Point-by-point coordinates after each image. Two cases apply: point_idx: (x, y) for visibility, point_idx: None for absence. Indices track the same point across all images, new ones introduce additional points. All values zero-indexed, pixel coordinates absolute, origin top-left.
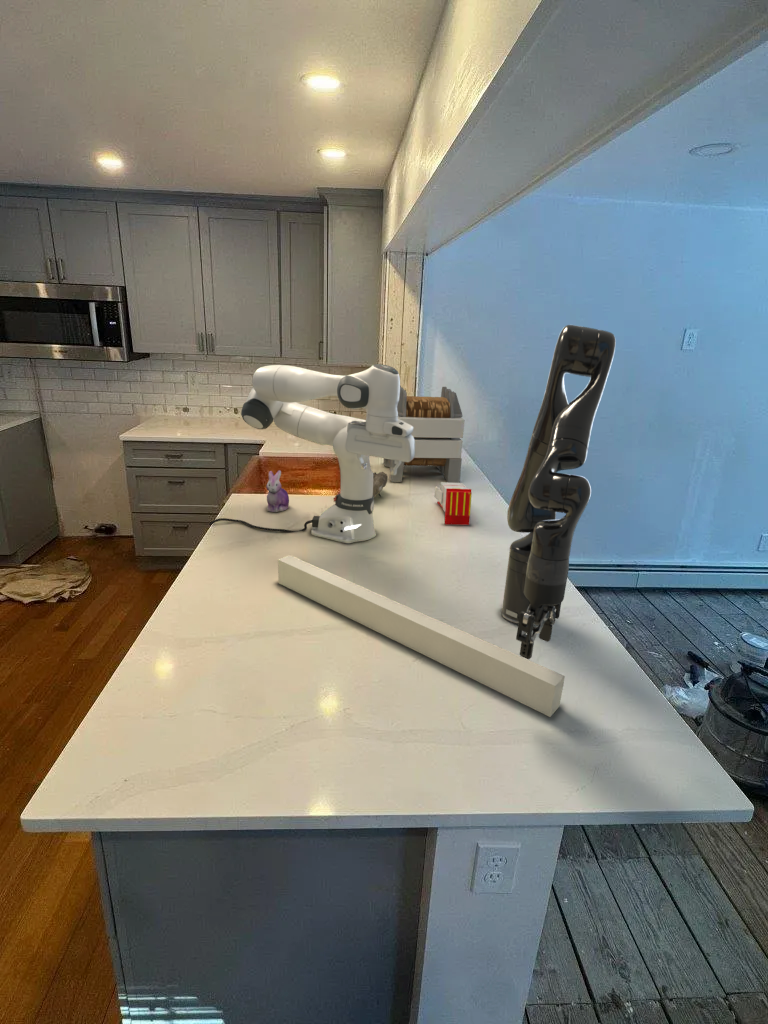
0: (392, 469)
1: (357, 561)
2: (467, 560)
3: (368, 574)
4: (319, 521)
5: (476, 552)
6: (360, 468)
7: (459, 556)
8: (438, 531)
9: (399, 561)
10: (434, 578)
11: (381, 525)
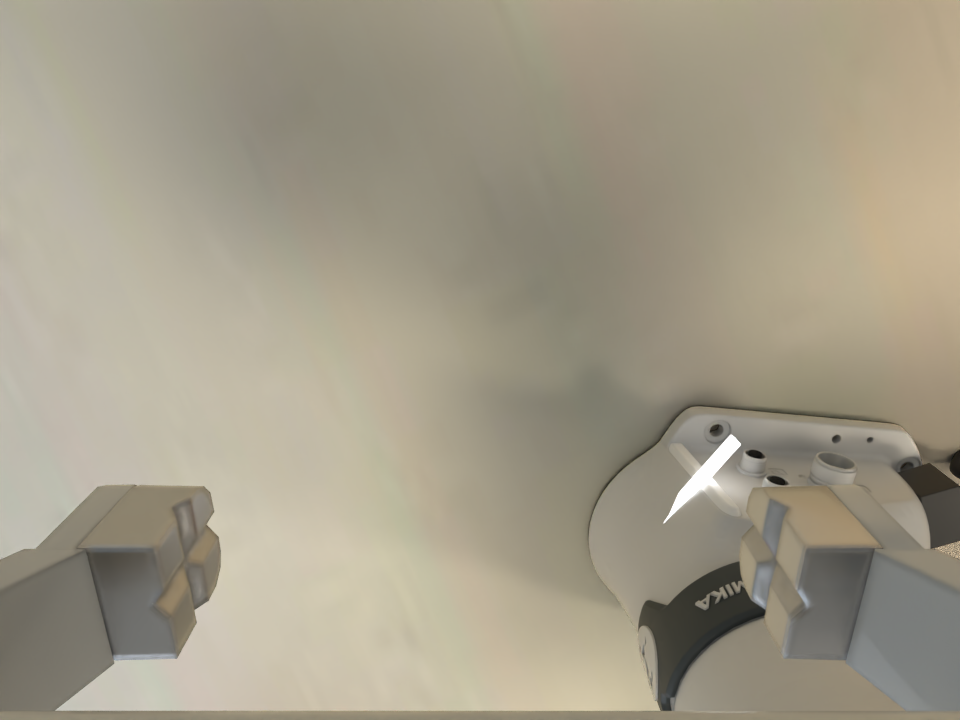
0: (99, 541)
1: (565, 231)
2: (74, 483)
3: (450, 102)
4: (910, 489)
5: None
6: (840, 487)
7: None
8: (333, 709)
9: (365, 329)
10: (120, 217)
11: (604, 664)
